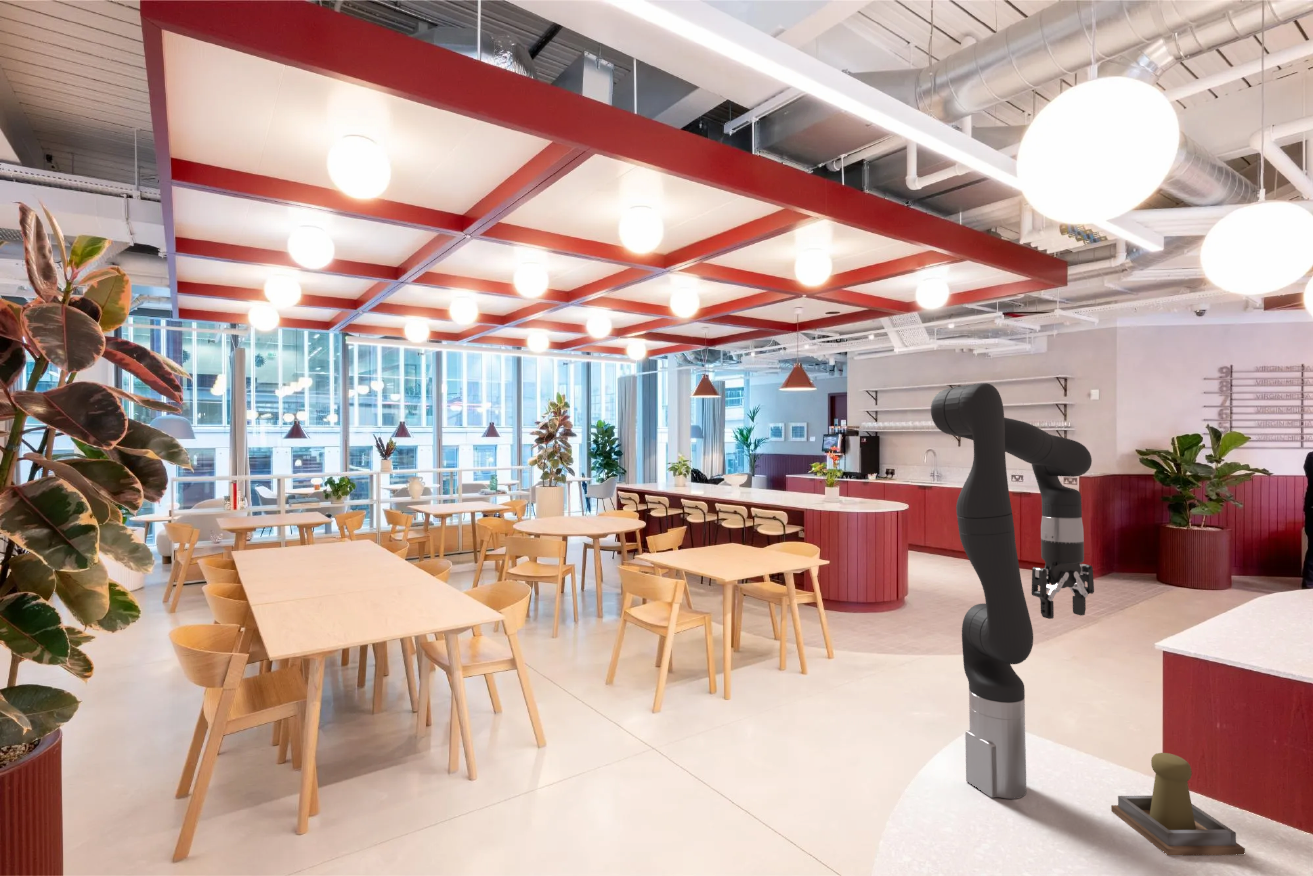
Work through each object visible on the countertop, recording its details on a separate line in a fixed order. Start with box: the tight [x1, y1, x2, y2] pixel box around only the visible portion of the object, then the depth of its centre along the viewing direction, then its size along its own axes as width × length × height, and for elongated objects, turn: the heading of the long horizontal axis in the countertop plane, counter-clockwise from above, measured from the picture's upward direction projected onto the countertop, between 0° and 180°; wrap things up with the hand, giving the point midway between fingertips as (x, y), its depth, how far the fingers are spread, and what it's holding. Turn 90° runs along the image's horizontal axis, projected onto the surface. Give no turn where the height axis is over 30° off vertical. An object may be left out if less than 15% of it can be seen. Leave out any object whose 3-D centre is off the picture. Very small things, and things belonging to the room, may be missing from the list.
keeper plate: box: [1110, 795, 1246, 856], centre depth 103 cm, size 12×12×3 cm
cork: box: [1150, 752, 1196, 830], centre depth 104 cm, size 6×6×11 cm
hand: (1063, 616), depth 131 cm, fingers open, 8 cm apart
